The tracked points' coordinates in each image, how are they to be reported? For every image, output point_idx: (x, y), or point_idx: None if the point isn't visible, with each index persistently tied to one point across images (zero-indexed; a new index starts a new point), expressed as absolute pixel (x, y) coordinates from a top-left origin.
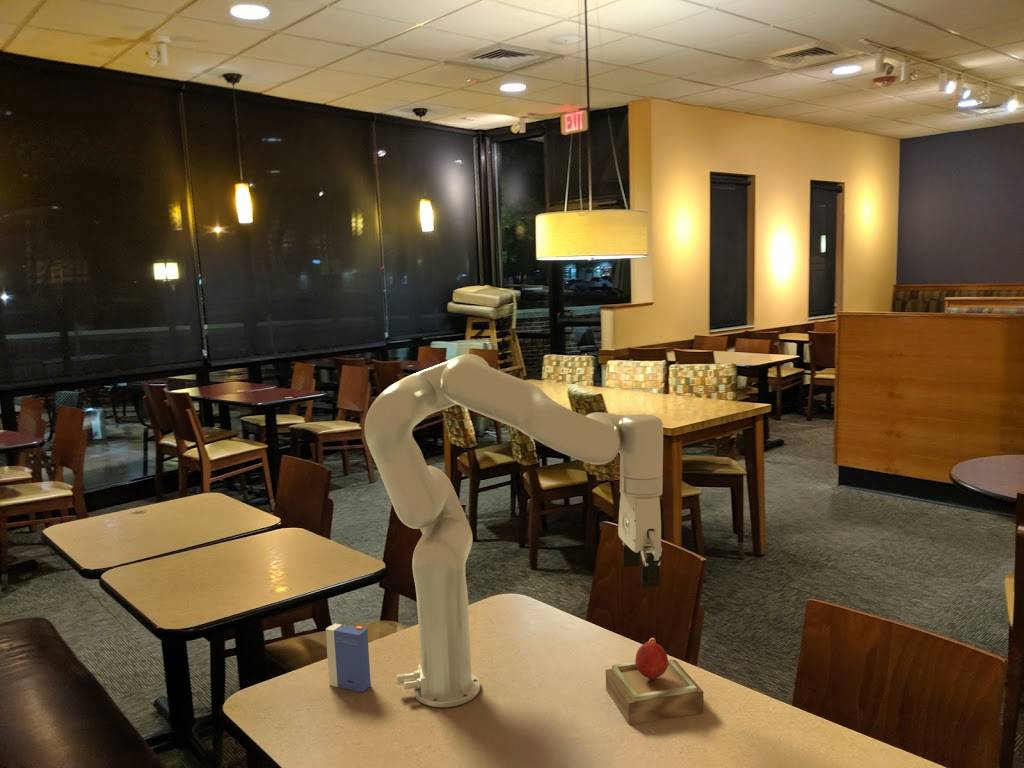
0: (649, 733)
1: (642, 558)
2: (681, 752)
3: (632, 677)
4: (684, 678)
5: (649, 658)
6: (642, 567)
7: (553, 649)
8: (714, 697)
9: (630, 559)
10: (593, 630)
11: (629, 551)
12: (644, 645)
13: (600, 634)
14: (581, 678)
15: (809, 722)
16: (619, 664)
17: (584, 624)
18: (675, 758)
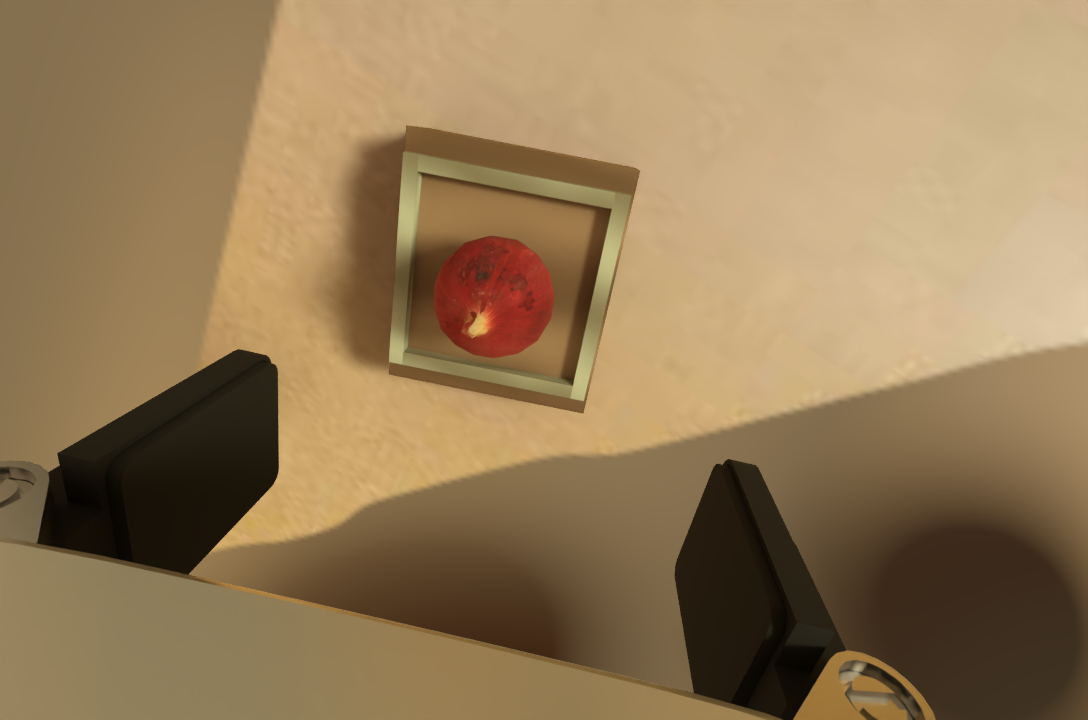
0: (371, 162)
1: (23, 537)
2: (268, 192)
3: (547, 231)
4: (447, 362)
5: (447, 272)
6: (83, 444)
7: (997, 129)
8: (462, 415)
9: (709, 553)
10: (1005, 339)
11: (736, 618)
12: (488, 288)
13: (961, 345)
14: (743, 125)
15: (301, 515)
16: (623, 225)
17: (1070, 335)
18: (248, 161)
